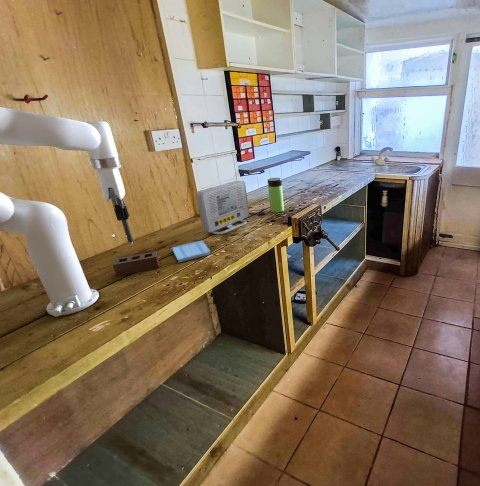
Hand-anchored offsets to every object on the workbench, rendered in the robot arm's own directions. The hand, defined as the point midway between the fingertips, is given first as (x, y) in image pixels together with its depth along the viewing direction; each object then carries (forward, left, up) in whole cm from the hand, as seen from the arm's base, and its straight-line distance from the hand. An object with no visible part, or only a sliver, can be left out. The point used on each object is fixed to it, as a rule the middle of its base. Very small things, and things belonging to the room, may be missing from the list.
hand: (123, 218), depth 105 cm
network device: (+28, -36, -20) cm, 50 cm away
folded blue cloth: (+6, -18, -19) cm, 27 cm away
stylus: (0, 0, -9) cm, 9 cm away
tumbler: (+41, -64, -20) cm, 78 cm away
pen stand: (0, 0, -19) cm, 19 cm away
